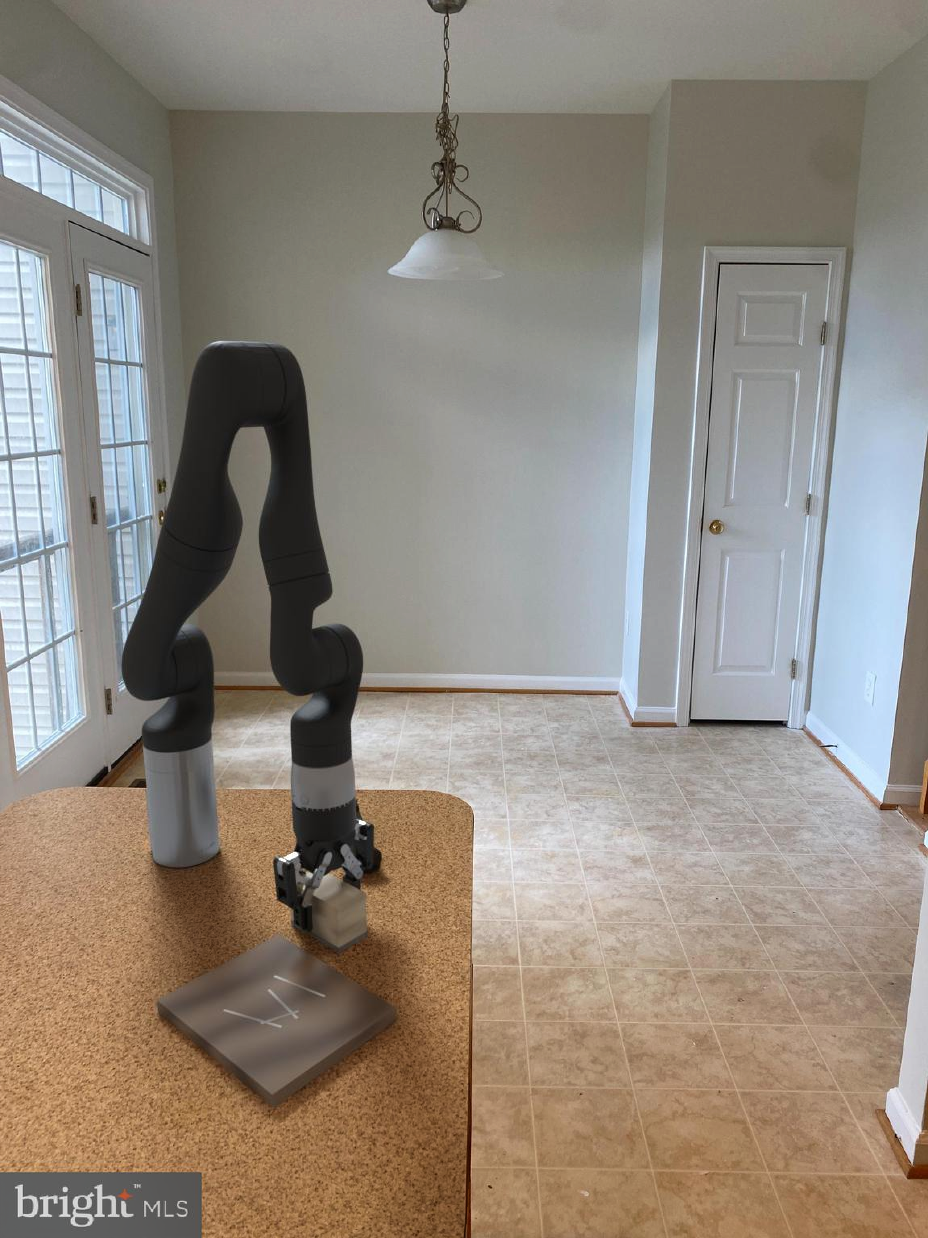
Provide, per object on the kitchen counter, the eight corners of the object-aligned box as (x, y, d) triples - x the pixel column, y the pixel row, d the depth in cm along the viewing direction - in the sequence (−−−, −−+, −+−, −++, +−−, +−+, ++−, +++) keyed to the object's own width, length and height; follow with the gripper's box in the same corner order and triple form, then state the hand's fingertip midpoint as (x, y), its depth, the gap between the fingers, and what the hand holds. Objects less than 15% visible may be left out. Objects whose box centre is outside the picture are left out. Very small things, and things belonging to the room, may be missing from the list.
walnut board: (157, 1012, 96) (156, 1000, 95) (279, 945, 107) (278, 934, 107) (273, 1108, 83) (272, 1094, 83) (396, 1020, 95) (396, 1008, 94)
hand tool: (382, 874, 124) (382, 844, 122) (353, 878, 123) (352, 847, 121) (363, 814, 141) (363, 787, 140) (338, 817, 140) (337, 789, 139)
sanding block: (291, 924, 112) (289, 881, 110) (319, 909, 115) (317, 867, 114) (338, 953, 106) (337, 908, 104) (366, 937, 109) (365, 893, 108)
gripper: (348, 765, 114) (351, 883, 118) (253, 803, 103) (261, 930, 107) (389, 782, 109) (391, 904, 113) (295, 823, 98) (301, 956, 102)
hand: (328, 916), depth 110 cm, fingers open, 7 cm apart
